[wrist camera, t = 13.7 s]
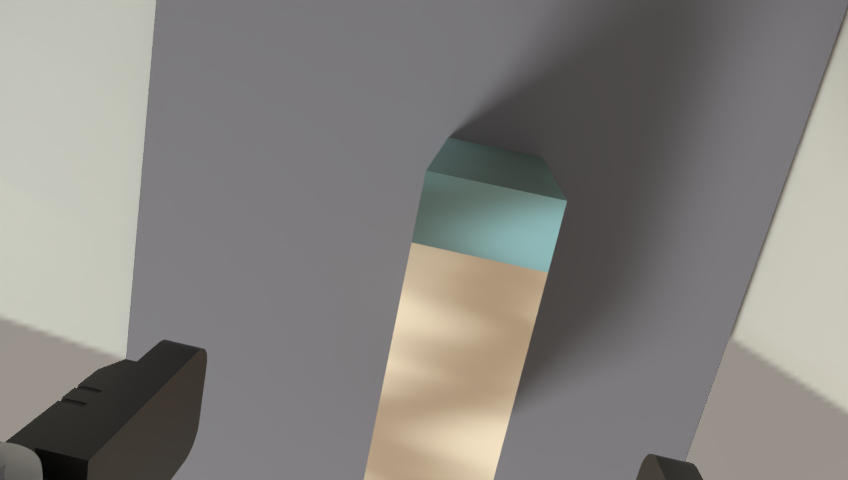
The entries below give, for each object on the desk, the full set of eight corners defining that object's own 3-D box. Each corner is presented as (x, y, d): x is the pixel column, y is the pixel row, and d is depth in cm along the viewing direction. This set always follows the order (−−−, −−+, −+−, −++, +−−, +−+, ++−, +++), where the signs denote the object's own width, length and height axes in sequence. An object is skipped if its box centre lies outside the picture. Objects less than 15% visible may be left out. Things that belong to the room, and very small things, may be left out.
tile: (348, 558, 16) (425, 170, 14) (390, 416, 23) (448, 137, 20) (464, 587, 16) (567, 200, 14) (473, 435, 23) (542, 157, 20)
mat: (120, 486, 26) (114, 492, 25) (187, -283, 19) (181, -291, 18) (626, 610, 25) (628, 619, 24) (895, -151, 18) (904, -155, 17)
